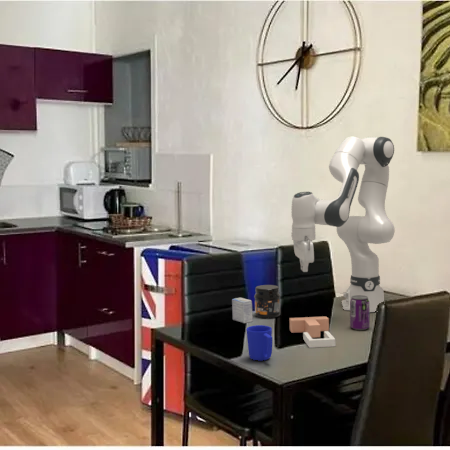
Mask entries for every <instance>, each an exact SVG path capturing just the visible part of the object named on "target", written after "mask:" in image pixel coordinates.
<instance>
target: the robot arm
mask: <svg viewBox="0 0 450 450" xmlns="http://www.w3.org/2000/svg"><path fill="white" fill-rule="evenodd" d="M394 154H395V145H394V143H393V140H392V139H390V138H389V137H387V136H378V137H377V136H370V137H369V136H367V137H363V138H360V137H358V136H353V135H351V136H347V137H345V139H344V140H343V141H342V142H341V143H340V144H339V146H338V147H337V149H336V150H335V152H334V154H333V155H332V156H331V158H330V161H329V165H328V169H329V170H328V171H329V172H330V174H331V176H332V177H333V178H334V179H335V180H336V181H338V182H340V183H342V185H341V186H340V190H339V193H338V196H337V197H336V198H334V199H320V198H319V197H317V196H315V195H314V193H313V192H311V191H301V192H297V193H295V194H294V195H293V196H292V201H291V219H292V225H291V240H292V241H293V250H294V251H293V252H294V254H295V257H297V258H298V259H299V263H300V270H301V271H302V272H303V273H308V271H309V264H310V263H311V264H312V263H314V262H315V251H314V250H315V249H314V243H313V241H314V240H316V225H320V226H321V225H322V226H330V227H336V232H337V233H336V234H337V236H338V237H339V239H341V240H342V242H343V243H344V244H345V245H346V247H347V250H348V253H349V254H350V261H351V275H350V281H349V283H350V284H349V286H348V288H347V289H346V291H343V294H342V295H343V298H345V299H342V300H341V302H342V303H341V307H342V306H343V307H342V309H344V311H350V301H351V299H352V298H351V297H352V296H355V295H363V296H367V297H368V300H369V307H370V313H374V312H375V311H376V307H377V305H378V304H379V303H381V302H383V301H384V302H385V297H384V296H385V294H384V293H385V292H384V288H382V287H381V285H380V284H381V277H380V273H379V272H380V271H379V268H380V264H379V263H380V261H379V257H378V255H377V253H375V252H374V251H372V250H371V248H370V246H369V244H375V245H377V244H378V245H380V244H385V243H389V242H391V241H392V239H393V238H394V236H395V231H396V230H395V226H394V223H393V221H391V219H389V216H388V215H387V212H386V197H387V192H388V186H389V179H390V167H389V164H390V162H391V161H392V159H393V158H394ZM360 165H364V172H363V174H362V178H361V183H360V186H359V192H358V195H357V201H358V204H359V205H360V206H361V207H362V208H364V211H365V216H363V215H362V216H361V215H350V211H351V206H352V203H353V200H354V198H355V197H354V196H355V194H356V191H357V187H358V184H359V181H360V173H359V171H358V170H359V167H360ZM375 313H376V312H375Z"/></svg>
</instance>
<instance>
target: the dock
mask: <svg viewBox="0 0 450 450" xmlns="http://www.w3.org/2000/svg"><path fill="white" fill-rule="evenodd" d="M329 331H330V330H329ZM329 331H323V338H312V337H311V336H310V335H309V334H308V332H302V337H303V340H304V342H305V344H306V345H307V347H308V348H310V349H312V348H313V349H314V348H328V347H329V348H330V347H336V338H335V337H334V335H332V334H331V333H330V332H329Z"/></svg>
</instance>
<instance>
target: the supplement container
mask: <svg viewBox="0 0 450 450" xmlns="http://www.w3.org/2000/svg"><path fill="white" fill-rule="evenodd" d="M279 292H280V287H279V286H278V285H274V284H263V285H257V286H256V287H255V294H254V296H253V298H254V315H255V317H256V318H259V317H260V318H259V319H266V318H269V319H276V318H278V317H280V315H281V294H280V293H279ZM275 317H276V318H275Z"/></svg>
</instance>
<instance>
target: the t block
mask: <svg viewBox="0 0 450 450" xmlns="http://www.w3.org/2000/svg"><path fill="white" fill-rule="evenodd" d="M288 321H289V331H290V332H291V333H293V334H294V333H303V332H308V334H309V335H310V336H311V337H312V339H317V338H321V332H324V331H330V318H329V317H327V316H309V317H308V316H305V317H289V320H288Z"/></svg>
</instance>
